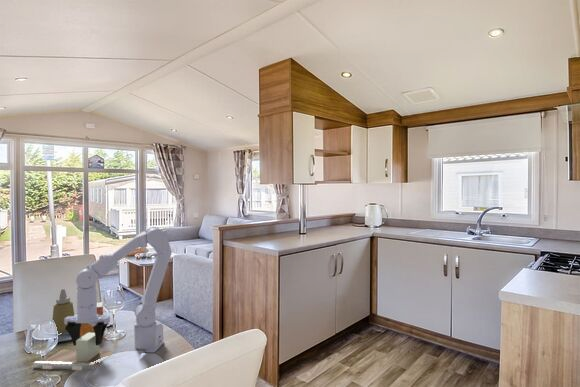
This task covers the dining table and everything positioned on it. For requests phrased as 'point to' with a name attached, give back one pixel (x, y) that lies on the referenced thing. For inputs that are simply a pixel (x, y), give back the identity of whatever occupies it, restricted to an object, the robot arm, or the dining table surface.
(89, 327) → the small box
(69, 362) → the shelf board
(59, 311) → the squeeze bottle
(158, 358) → the dining table surface
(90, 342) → the carton
